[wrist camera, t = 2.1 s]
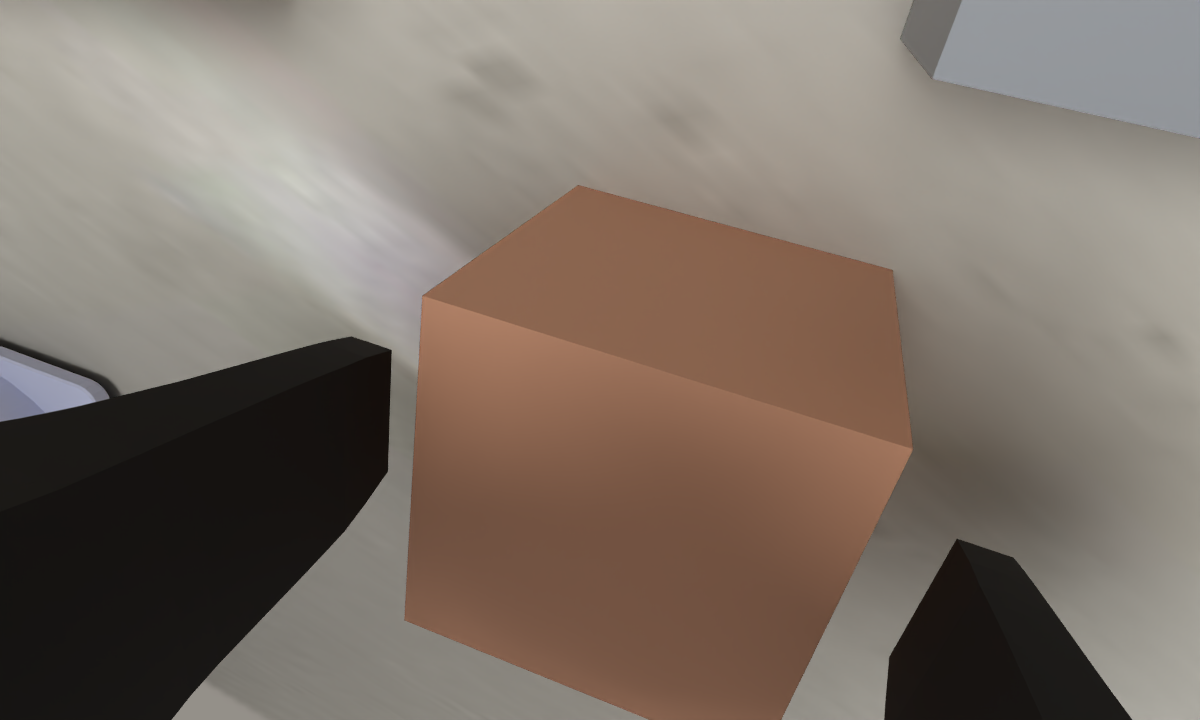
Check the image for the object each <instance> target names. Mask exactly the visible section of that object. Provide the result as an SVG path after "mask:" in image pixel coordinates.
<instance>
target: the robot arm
mask: <svg viewBox="0 0 1200 720" xmlns="http://www.w3.org/2000/svg"><path fill="white" fill-rule="evenodd" d="M391 354H392V350H390V349H387V348H384V347H381V346H378V345H375V344H372V343H369V342H366V341H363V340H360V339H357V338H354V337H346V338H341V339H336V340H331V341H326V342H322V343H318V344H314V345H310V346H306V347H303V348H299V349H295V350H291V351H288V352H284V353H280V354H277V355H273V356H270V357H266V358H263V359H259V360H255V361H252V362H248V363H245V364H241V365H237V366H234V367H230V368H227V369H223V370H219V371H216V372H212V373H208V374H205V375H201V376H198V377H194V378H190V379H187V380H183V381H179V382H175V383H171V384H167V385H163V386H159V387H155V388H151V389H147V390H143V391H139V392H135V393H130V394H126V395H122V396H118V397H114V398H109V395H108V394H107V392H106V391H105V389H104V388H103V387H102V386H101V385H100V384H99V383H97V382H95V381H93V380H91V379H88V378H86V377H83V376H80V375H78V374H75V373H72V372H69V371H67V370H64V369H61V368H59V367H56V366H53V365H51V364H48V363H45V362H42V361H40V360H37V359H34V358H32V357H29V356H26V355H24V354H21V353H18V352H15V351H13V350H10V349H7V348H5V347H2V346H0V720H172V718H173V717H174V716H175V715H176V713H177V712H178V711H179V710H180V708H181V707H182V706H183V704H184V703H185V702H186V701H187V699H188V698H189V697H190V696H191V695H192V693H193V692H194V691H195V690H196V689H197V688H198V687H199V686H200V684H201V683H202V682H203V681H204V680H205V679H206V678H207V676H208V675H209V674H210V673H211V672H212V671H213V670H214V669H215V667H216V666H217V665H218V664H219V663H220V662H221V661H222V660H223V659H224V658H225V657H226V656H227V655H228V654H229V652H230V651H231V650H232V649H233V648H234V647H235V646H236V645H237V644H238V643H239V642H240V641H241V640H242V639H243V638H244V637H245V636H246V635H247V634H248V633H249V632H250V631H251V629H252V628H253V627H254V626H255V625H256V624H257V623H258V622H259V621H260V620H261V619H262V618H263V617H264V616H265V615H266V614H267V613H268V612H269V611H270V610H271V609H272V608H273V607H274V605H275V604H276V603H277V602H278V601H279V600H280V599H281V598H282V597H283V596H284V595H285V594H286V593H287V592H288V591H289V590H290V589H291V588H292V587H293V586H294V585H295V584H296V583H297V581H298V580H299V579H300V578H301V577H302V576H303V575H304V574H305V573H306V572H307V571H308V570H309V569H310V568H311V567H312V566H313V565H314V563H315V562H316V561H317V560H318V559H319V558H320V557H321V556H322V555H323V554H324V553H325V552H326V551H327V550H328V549H329V548H330V546H331V545H332V544H333V543H334V542H335V541H336V540H337V539H338V538H339V537H340V536H341V534H342V533H343V532H344V531H345V530H346V529H347V527H348V526H349V525H350V523H351V522H352V521H353V519H354V518H355V517H356V515H357V514H358V513H359V511H360V510H361V509H362V507H363V506H364V505H365V503H366V502H367V500H368V499H369V498H370V496H371V495H372V493H373V492H374V490H375V489H376V488H377V486H378V485H379V483H380V482H381V480H382V479H383V478H384V476H385V475H386V473H387V472H388V449H389V417H390V385H391ZM884 720H1132V719H1131V718H1130V716H1129V715H1128V713H1127V712H1126V711H1125V709H1124V708H1123V707H1122V705H1121V704H1120V703H1119V701H1118V700H1117V699H1116V697H1115V696H1114V695H1113V693H1112V692H1111V690H1110V689H1109V688H1108V686H1107V685H1106V683H1105V682H1104V681H1103V679H1102V678H1101V677H1100V675H1099V674H1098V672H1097V671H1096V670H1095V668H1094V667H1093V666H1092V664H1091V663H1090V661H1089V660H1088V659H1087V657H1086V656H1085V654H1084V653H1083V652H1082V650H1081V649H1080V647H1079V646H1078V645H1077V643H1076V642H1075V640H1074V639H1073V638H1072V636H1071V635H1070V633H1069V632H1068V631H1067V629H1066V628H1065V626H1064V625H1063V624H1062V622H1061V621H1060V619H1059V618H1058V617H1057V615H1056V614H1055V612H1054V611H1053V610H1052V608H1051V607H1050V605H1049V604H1048V603H1047V601H1046V600H1045V598H1044V597H1043V596H1042V594H1041V593H1040V592H1039V590H1038V589H1037V587H1036V586H1035V585H1034V583H1033V582H1032V581H1031V579H1030V578H1029V577H1028V575H1027V574H1026V573H1025V571H1024V570H1023V569H1022V568H1021V566H1020V565H1019V564H1018V563H1017V561H1016V560H1015V559H1014V558H1013V557H1010V556H1007V555H1004V554H1001V553H998V552H995V551H992V550H989V549H986V548H983V547H980V546H977V545H974V544H971V543H968V542H965V541H962V540H959V539H957V540H956V541H955V543H954V545H953V547H952V548H951V550H950V552H949V554H948V555H947V557H946V559H945V561H944V562H943V564H942V566H941V568H940V569H939V571H938V573H937V575H936V576H935V578H934V580H933V582H932V583H931V585H930V587H929V589H928V590H927V592H926V594H925V596H924V597H923V599H922V601H921V603H920V604H919V606H918V608H917V610H916V611H915V613H914V615H913V617H912V618H911V620H910V622H909V624H908V625H907V627H906V629H905V631H904V632H903V634H902V636H901V638H900V639H899V641H898V643H897V645H896V646H895V648H894V650H893V652H892V653H891V655H890V657H889V668H888V680H887V691H886V703H885V719H884Z"/></svg>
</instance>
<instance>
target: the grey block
mask: <svg viewBox="0 0 1200 720" xmlns="http://www.w3.org/2000/svg"><path fill="white" fill-rule="evenodd" d="M900 39H901V41H902V42H903V43H904V44H905V46H906V47H907V48H908V49H909V51H910V52H911V53H912V54H913V56H914V57H915V58H916V59H917V61H918V62H919V63H920V64H921V66H922V67H923V68H924V70H925V71H926V72H927V73H928V75H929V76H930V77H931V78H932V79H934V80H939V81H943V82H948V83H952V84H957V85H961V86H966V87H970V88H975V89H979V90H984V91H988V92H993V93H997V94H1002V95H1006V96H1011V97H1015V98H1020V99H1024V100H1029V101H1033V102H1038V103H1042V104H1047V105H1051V106H1056V107H1060V108H1065V109H1069V110H1074V111H1078V112H1083V113H1087V114H1092V115H1096V116H1101V117H1105V118H1110V119H1114V120H1119V121H1123V122H1128V123H1132V124H1137V125H1141V126H1146V127H1150V128H1155V129H1159V130H1164V131H1168V132H1173V133H1177V134H1182V135H1186V136H1191V137H1195V138H1200V0H914V1H913V4H912V6H911V9H910V12H909V15H908V18H907V21H906V23H905V26H904V29H903V32H902V35H901V38H900Z"/></svg>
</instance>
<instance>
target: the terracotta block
mask: <svg viewBox="0 0 1200 720" xmlns="http://www.w3.org/2000/svg"><path fill="white" fill-rule="evenodd" d="M912 451H913V443H912V435H911V426H910V417H909V409H908V400H907V391H906V383H905V374H904V365H903V357H902V348H901V339H900V330H899V322H898V313H897V304H896V296H895V287H894V278H893V270H890V269H887V268H883V267H879V266H876V265H872V264H868V263H864V262H861V261H857V260H853V259H850V258H846V257H842V256H839V255H835V254H831V253H827V252H824V251H820V250H816V249H813V248H809V247H805V246H802V245H798V244H794V243H790V242H787V241H783V240H779V239H776V238H772V237H768V236H764V235H761V234H757V233H753V232H750V231H746V230H742V229H739V228H735V227H731V226H727V225H724V224H720V223H716V222H713V221H709V220H705V219H702V218H698V217H694V216H690V215H687V214H683V213H679V212H676V211H672V210H668V209H664V208H661V207H657V206H653V205H650V204H646V203H642V202H639V201H635V200H631V199H627V198H624V197H620V196H616V195H613V194H609V193H605V192H602V191H598V190H594V189H590V188H587V187H583V186H579V185H578V186H576V187H575V188H574V189H572V190H571V191H569V192H568V193H567V194H565V195H564V196H562V197H561V198H559V199H558V200H557V201H555V202H554V203H552V204H551V205H550V206H548V207H547V208H545V209H544V210H543V211H541V212H540V213H538V214H537V215H536V216H534V217H533V218H531V219H530V220H528V221H527V222H526V223H524V224H523V225H521V226H520V227H519V228H517V229H516V230H514V231H513V232H512V233H510V234H509V235H507V236H506V237H505V238H503V239H502V240H500V241H499V242H498V243H496V244H495V245H493V246H492V247H490V248H489V249H488V250H486V251H485V252H483V253H482V254H481V255H479V256H478V257H476V258H475V259H474V260H472V261H471V262H469V263H468V264H467V265H465V266H464V267H462V268H461V269H459V270H458V271H457V272H455V273H454V274H452V275H451V276H450V277H448V278H447V279H445V280H444V281H443V282H441V283H440V284H438V285H437V286H436V287H434V288H433V289H431V290H430V291H429V292H427V293H426V294H424V295H423V296H422V314H421V332H420V350H419V368H418V386H417V404H416V422H415V440H414V458H413V476H412V494H411V512H410V529H409V547H408V565H407V583H406V601H405V619H404V620H405V621H407V622H410V623H412V624H415V625H417V626H420V627H422V628H425V629H427V630H430V631H432V632H435V633H437V634H440V635H442V636H444V637H447V638H449V639H452V640H454V641H457V642H459V643H462V644H464V645H467V646H469V647H472V648H474V649H476V650H479V651H481V652H484V653H486V654H489V655H491V656H494V657H496V658H499V659H501V660H504V661H506V662H509V663H511V664H513V665H516V666H518V667H521V668H523V669H526V670H528V671H531V672H533V673H536V674H538V675H541V676H543V677H545V678H548V679H550V680H553V681H555V682H558V683H560V684H563V685H565V686H568V687H570V688H573V689H575V690H577V691H580V692H582V693H585V694H587V695H590V696H592V697H595V698H597V699H600V700H602V701H605V702H607V703H610V704H612V705H614V706H617V707H619V708H622V709H624V710H627V711H629V712H632V713H634V714H637V715H639V716H642V717H644V718H646V719H649V720H781V719H782V717H783V715H784V713H785V711H786V709H787V707H788V705H789V703H790V701H791V698H792V696H793V694H794V692H795V690H796V688H797V686H798V684H799V682H800V680H801V678H802V676H803V674H804V672H805V670H806V668H807V666H808V664H809V662H810V660H811V658H812V655H813V653H814V651H815V649H816V647H817V645H818V643H819V641H820V639H821V637H822V635H823V633H824V631H825V629H826V627H827V625H828V623H829V621H830V619H831V617H832V615H833V612H834V610H835V608H836V606H837V604H838V602H839V600H840V598H841V596H842V594H843V592H844V590H845V588H846V586H847V584H848V582H849V580H850V578H851V576H852V574H853V572H854V569H855V567H856V565H857V563H858V561H859V559H860V557H861V555H862V553H863V551H864V549H865V547H866V545H867V543H868V541H869V539H870V537H871V535H872V533H873V531H874V529H875V526H876V524H877V522H878V520H879V518H880V516H881V514H882V512H883V510H884V508H885V506H886V504H887V502H888V500H889V498H890V496H891V494H892V492H893V490H894V488H895V486H896V483H897V481H898V479H899V477H900V475H901V473H902V471H903V469H904V467H905V465H906V463H907V461H908V459H909V457H910V455H911V453H912Z"/></svg>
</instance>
